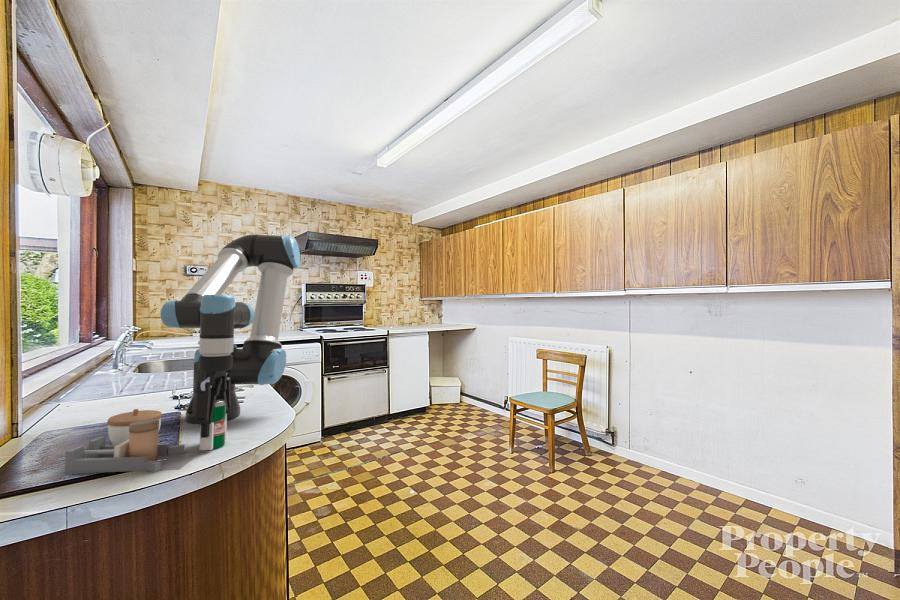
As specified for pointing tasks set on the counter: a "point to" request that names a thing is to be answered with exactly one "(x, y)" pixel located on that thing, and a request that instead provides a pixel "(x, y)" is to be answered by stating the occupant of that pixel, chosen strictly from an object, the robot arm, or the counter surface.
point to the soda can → (219, 423)
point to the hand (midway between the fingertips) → (213, 443)
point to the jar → (144, 439)
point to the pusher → (112, 450)
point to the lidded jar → (120, 423)
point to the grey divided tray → (125, 459)
